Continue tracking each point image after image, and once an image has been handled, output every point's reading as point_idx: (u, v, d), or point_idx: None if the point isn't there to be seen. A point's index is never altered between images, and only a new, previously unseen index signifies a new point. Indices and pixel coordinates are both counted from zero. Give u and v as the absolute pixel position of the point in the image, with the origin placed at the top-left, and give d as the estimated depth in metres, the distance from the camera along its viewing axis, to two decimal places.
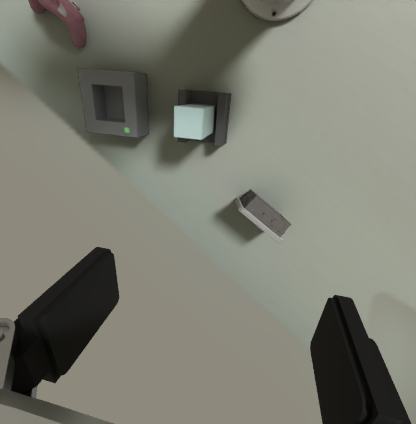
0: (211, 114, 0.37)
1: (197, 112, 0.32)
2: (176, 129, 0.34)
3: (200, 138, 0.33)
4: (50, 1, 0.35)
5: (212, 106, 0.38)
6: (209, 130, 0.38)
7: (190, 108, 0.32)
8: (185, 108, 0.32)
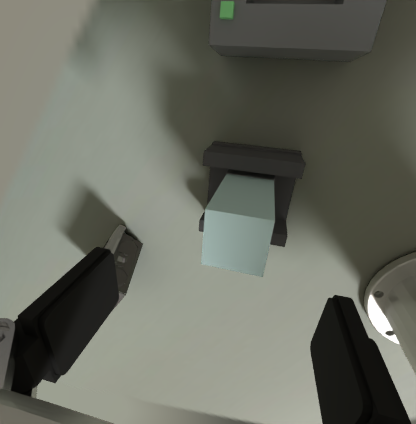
0: None
1: (256, 265, 0.15)
2: (221, 217, 0.14)
3: (203, 262, 0.16)
4: None
5: None
6: None
7: (265, 254, 0.14)
8: (266, 244, 0.14)
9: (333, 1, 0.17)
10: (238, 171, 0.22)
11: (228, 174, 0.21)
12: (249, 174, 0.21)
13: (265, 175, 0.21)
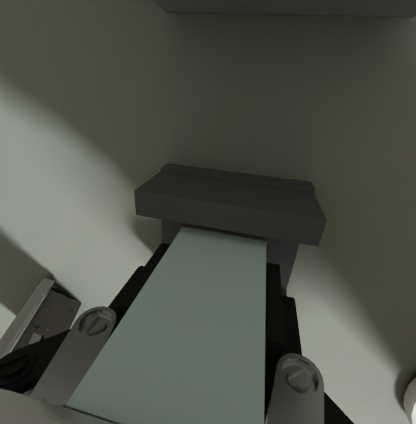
0: None
1: None
2: None
3: None
4: None
5: None
6: None
7: None
8: None
9: None
10: None
11: (184, 229, 0.11)
12: None
13: None
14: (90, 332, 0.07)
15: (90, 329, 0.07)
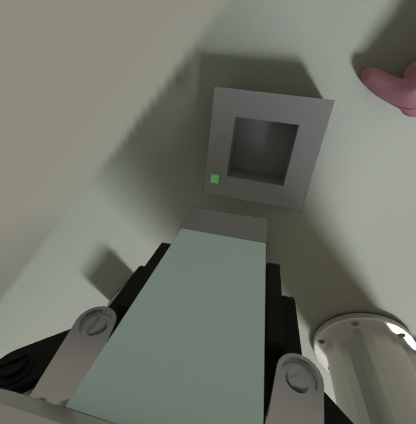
0: None
1: None
2: None
3: None
4: None
5: None
6: None
7: None
8: None
9: (283, 166, 0.26)
10: (204, 219, 0.13)
11: (184, 230, 0.11)
12: (222, 228, 0.12)
13: (250, 230, 0.12)
14: (90, 332, 0.07)
15: (90, 329, 0.07)
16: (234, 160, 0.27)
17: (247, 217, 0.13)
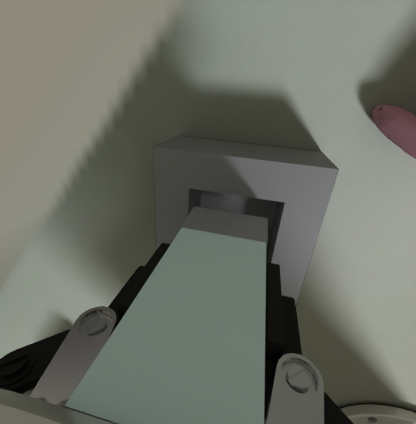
0: None
1: None
2: None
3: None
4: None
5: None
6: None
7: None
8: None
9: (268, 238, 0.19)
10: (204, 219, 0.13)
11: (184, 229, 0.11)
12: (223, 227, 0.12)
13: (251, 229, 0.12)
14: (90, 332, 0.07)
15: (90, 329, 0.07)
16: None
17: (247, 216, 0.13)
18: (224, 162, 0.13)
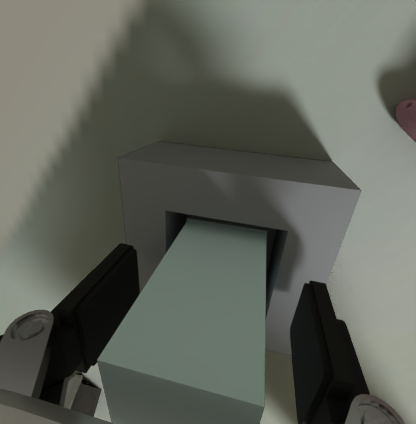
0: None
1: None
2: (137, 380, 0.06)
3: None
4: None
5: None
6: None
7: None
8: None
9: (267, 264, 0.15)
10: None
11: (190, 221, 0.12)
12: None
13: None
14: (26, 337, 0.07)
15: (25, 334, 0.07)
16: None
17: None
18: (209, 179, 0.10)
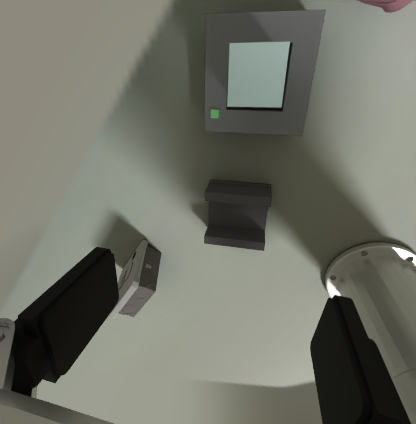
0: None
1: (275, 96, 0.18)
2: (244, 49, 0.17)
3: (229, 104, 0.18)
4: None
5: None
6: None
7: (283, 80, 0.17)
8: (283, 69, 0.17)
9: None
10: None
11: None
12: None
13: None
14: None
15: None
16: None
17: None
18: (253, 17, 0.21)
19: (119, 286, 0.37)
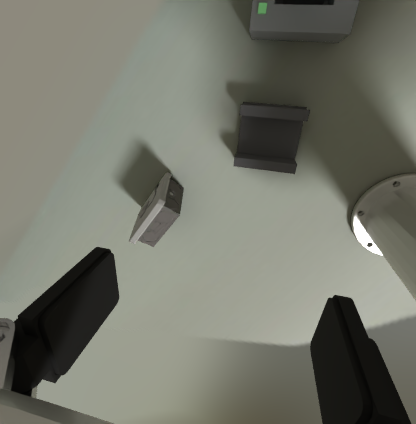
0: None
1: None
2: None
3: None
4: None
5: None
6: None
7: None
8: None
9: (327, 2, 0.26)
10: None
11: None
12: None
13: None
14: None
15: None
16: None
17: None
18: None
19: (141, 213, 0.37)
